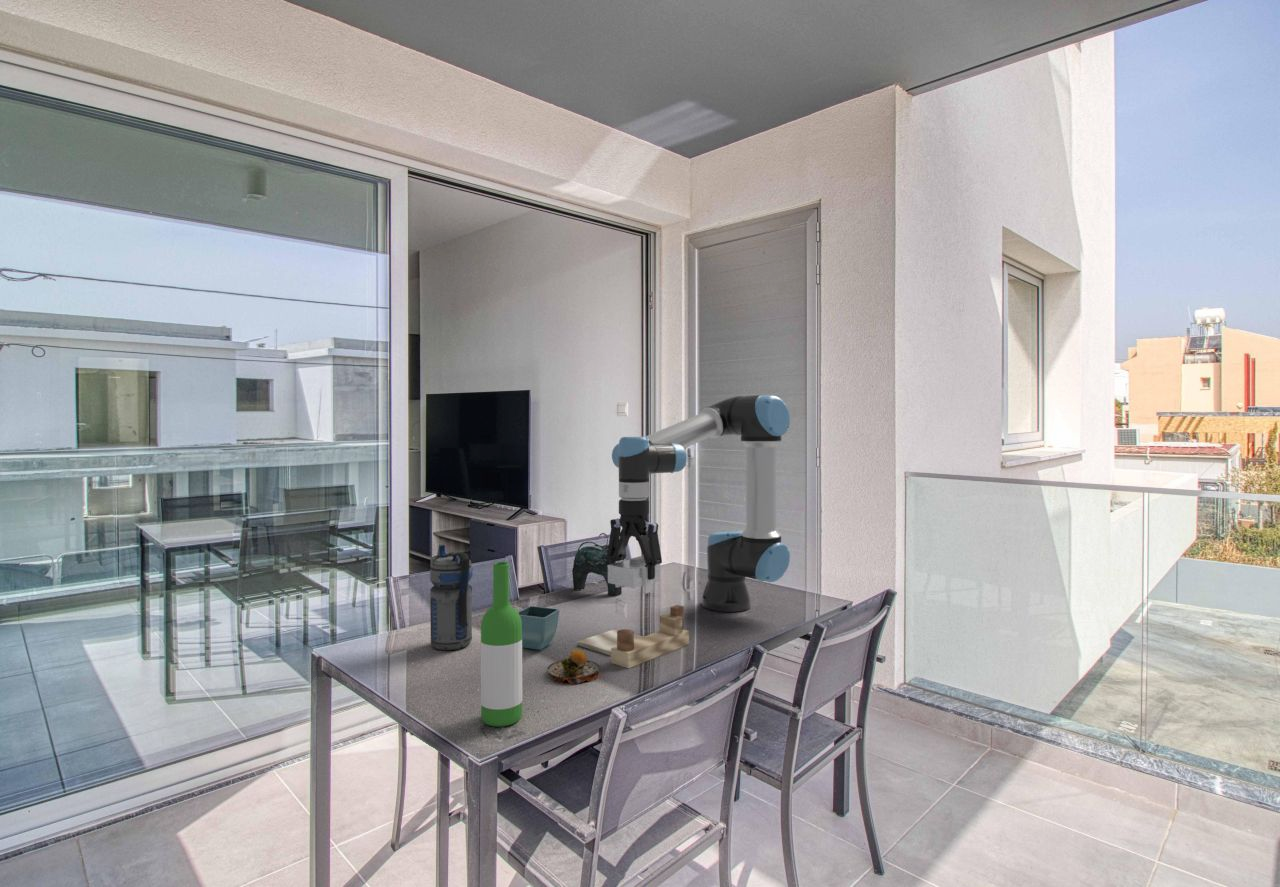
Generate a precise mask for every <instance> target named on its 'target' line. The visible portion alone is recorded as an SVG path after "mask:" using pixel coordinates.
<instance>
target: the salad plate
mask: <svg viewBox="0 0 1280 887" xmlns="http://www.w3.org/2000/svg"><path fill="white" fill-rule="evenodd" d="M584 648H585V647H582V649H581V650H580V649H576V648H575V649H572V650H571V651H570V654H569V655H568V656H567V657H566V658H564V660H560V661H559V660H558V661H555V662H553V663H552V664H550V665H549V666H547V672H548V675H550V676H553V678H554V683H555V684H556V683H557V684H558V685H559V684H561V685H564V682H565V681H567V682H568V683H569V684H570V685H576V684H577V685H579V684H580V683H584V682H585V681H587V682H588V683H590V682H593V681H594V680H597V679H598V678H599V676H600V674H601V673H600V671H599V669H600V666H599V664H598V663H596V662H594V661H591V660H588V656H587V654H586V653H585V652H584V651H583V649H584Z"/></svg>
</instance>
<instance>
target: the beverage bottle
mask: <svg viewBox="0 0 1280 887" xmlns="http://www.w3.org/2000/svg"><path fill="white" fill-rule="evenodd" d="M437 549H438V550H437V553H436V554H437V555H433V556H431V557H430V564H429V565H430V566H429V569H430V570H429V572H430V573H429V578H430V580H429V581H430V582H431V583H432V585H433V586H432V587H431V588H430V589H429V591H430V592H429V593H430V596H429V597H430V607H429V609H430V613H429V615H430V644H431V647H433V648H435V649H437V650H441V651H454V650H460V649H463V648H465V647H467V646H469V645H470V644H471V642H472V640H473V608H472V607H473V601H472V600H473V599H472V598H473V594H472V593H473V592H472V590H473V589H472V585H470V584H469V582H470V581H471V580H472V577H473V571H474V570H473V567H472V560H471V559H470V558H469V555H468V554H467V553H465V552H462V551H458V552H454V551H453V552H452V551H451V552H448V553H446V545H445V544H441V545H438V548H437Z"/></svg>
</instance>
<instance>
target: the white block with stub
mask: <svg viewBox="0 0 1280 887" xmlns="http://www.w3.org/2000/svg"><path fill="white" fill-rule="evenodd" d="M645 565H646V563H645V560H644V557H643V555H640V556H637V557H631V558H629V559H627V560H626V559H625V561H622V562H618V563H613V564H609V565H608V583H611V584H616V585H620V586H622V587H626V588H631V589H636V588H640V587H644V566H645ZM660 570H661V564H657V565H656V566H655V578H654V579H653V584H654V583H657V582H660V581H661V579H660V578H661V575H660V574H661V571H660Z"/></svg>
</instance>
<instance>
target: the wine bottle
mask: <svg viewBox="0 0 1280 887" xmlns="http://www.w3.org/2000/svg"><path fill="white" fill-rule="evenodd" d="M492 567H493V577H492V578H493V589H492V590H493V591H492V592H493V593H492V594H493V596H492V597H493V601H492V602H493V604H492V605H491V607H489V608H488V610H486V611H485V612H484V615H483V617H482V619H481V623H480V705H481V706H480V710H481V711H480V715H481V717H480V718H481V719H482V721H483V723H484V724H486V725H488V726H491V727H507V726H510V725H514V724H516V723H517V722H518V721H520V719H521V717H522V716H523V646H522V621H521V617H520V615H519V613H518V612H519V611H517V609H516V608H515V607H514V606H512V605H511V603H510V563H509V562H506V561H498V562H495V563H493V566H492Z"/></svg>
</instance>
